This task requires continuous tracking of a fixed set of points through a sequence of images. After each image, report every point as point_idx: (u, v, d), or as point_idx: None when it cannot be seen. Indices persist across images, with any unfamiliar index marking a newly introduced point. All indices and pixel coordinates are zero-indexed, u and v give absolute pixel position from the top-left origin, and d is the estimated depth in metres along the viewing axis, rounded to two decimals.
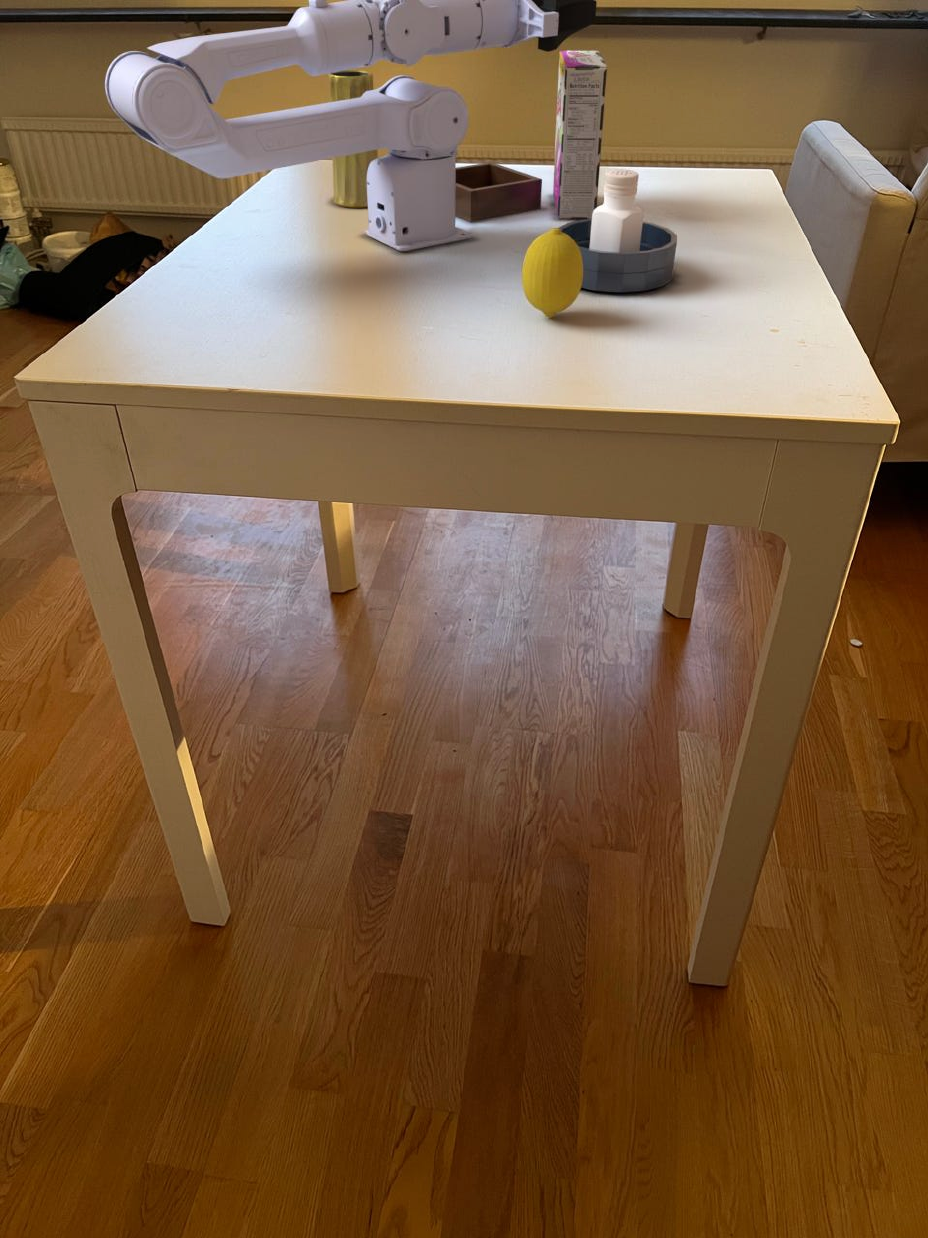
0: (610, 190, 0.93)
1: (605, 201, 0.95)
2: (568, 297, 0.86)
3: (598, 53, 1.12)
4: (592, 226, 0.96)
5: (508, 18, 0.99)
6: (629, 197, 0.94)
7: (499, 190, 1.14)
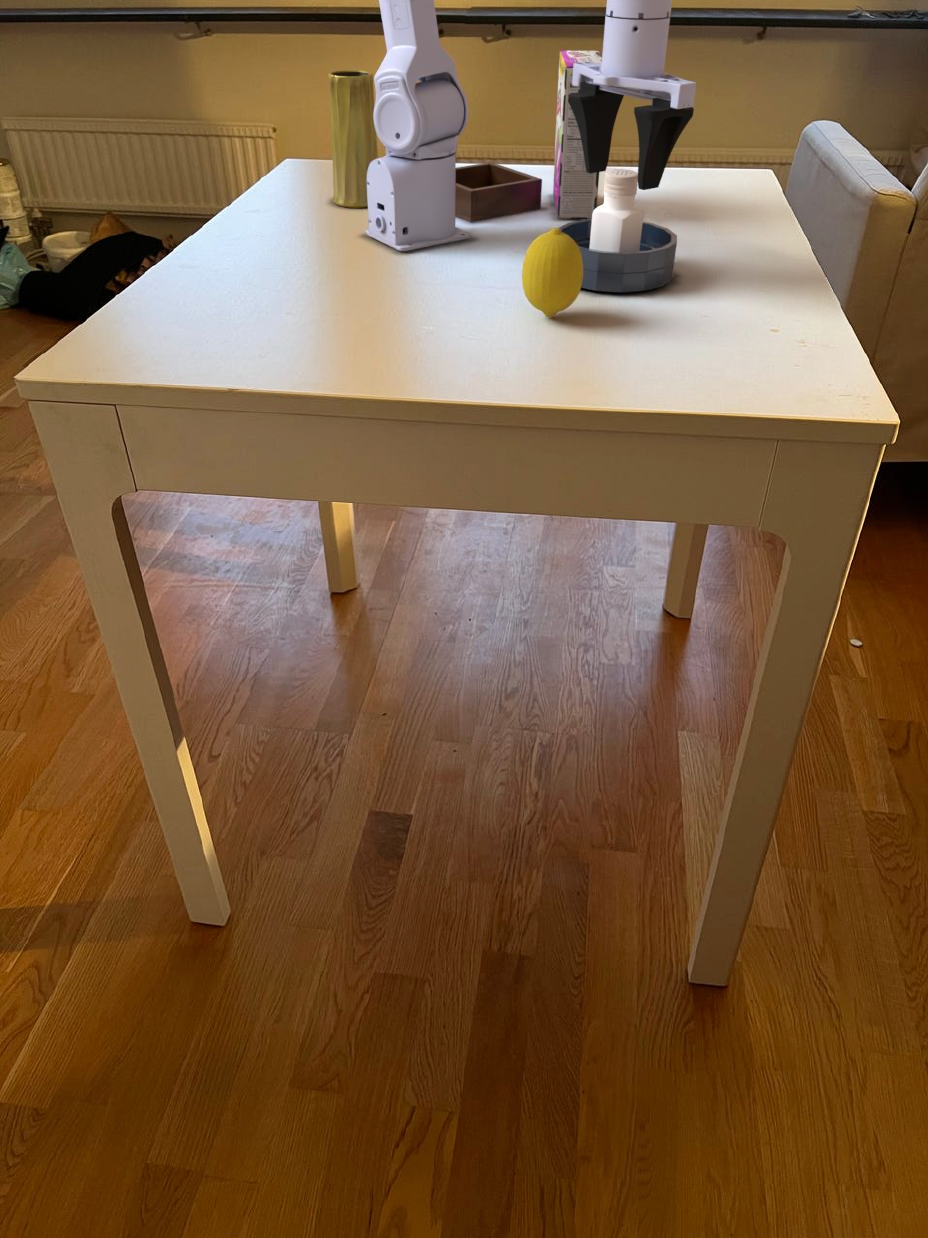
0: (610, 190, 0.93)
1: (605, 201, 0.95)
2: (568, 297, 0.86)
3: (598, 53, 1.12)
4: (592, 226, 0.96)
5: None
6: (629, 197, 0.94)
7: (499, 190, 1.14)
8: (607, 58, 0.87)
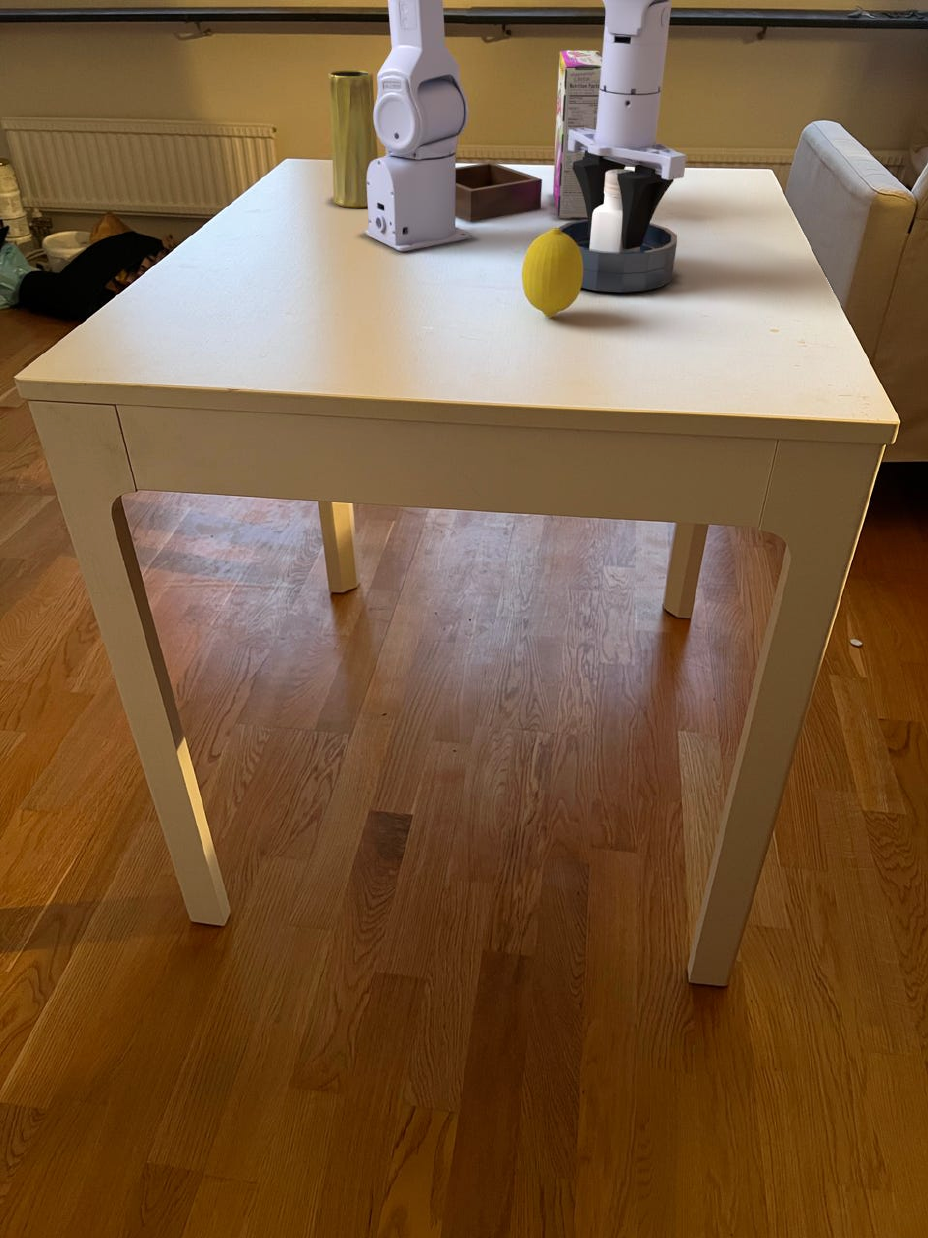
0: (610, 190, 0.93)
1: (605, 201, 0.95)
2: (568, 297, 0.86)
3: (598, 53, 1.12)
4: (593, 226, 0.96)
5: None
6: None
7: (499, 190, 1.14)
8: (601, 129, 0.90)
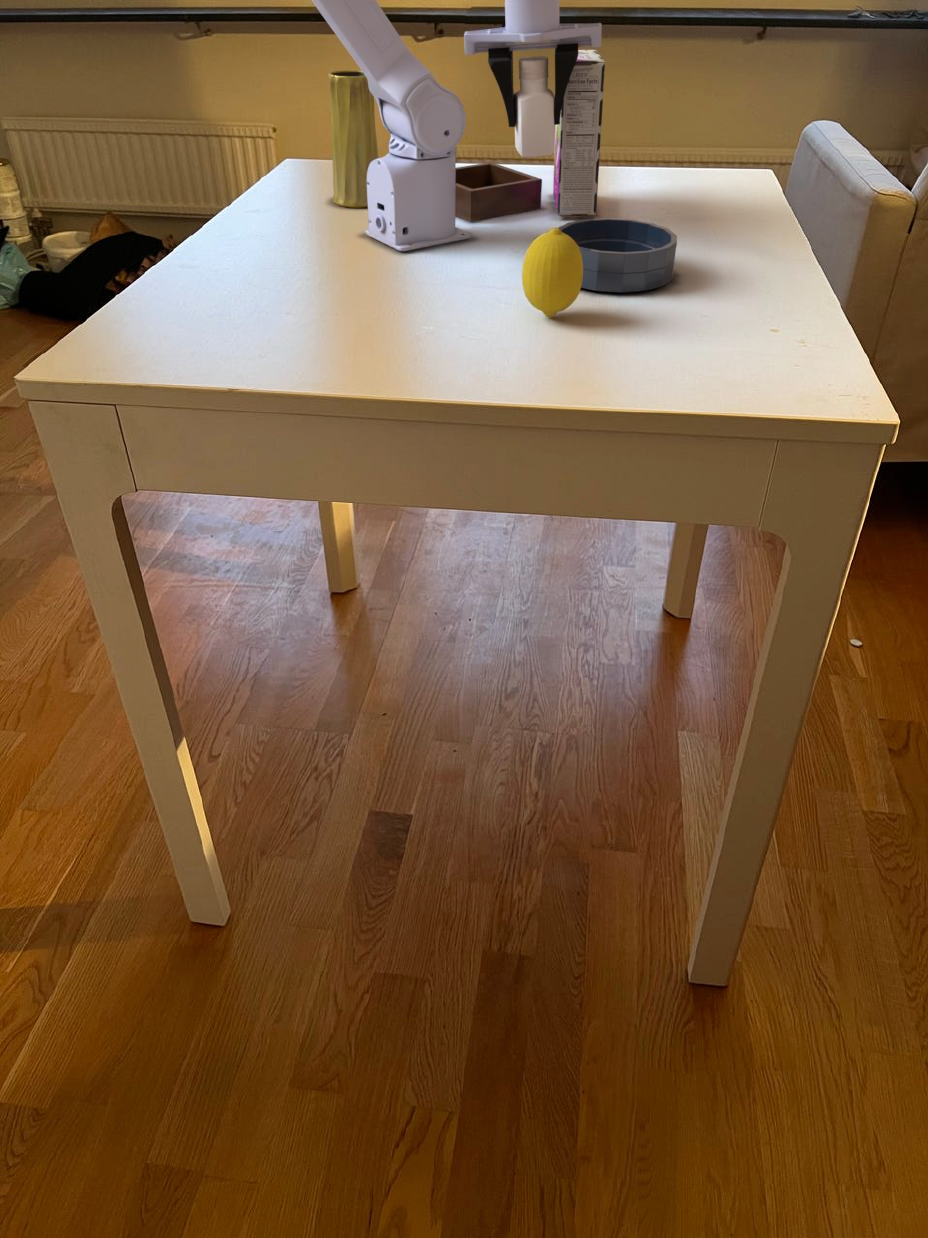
0: (536, 75, 1.03)
1: (529, 87, 1.04)
2: (568, 297, 0.86)
3: (596, 51, 1.13)
4: (523, 114, 1.05)
5: (505, 16, 1.01)
6: (547, 77, 1.05)
7: (499, 190, 1.14)
8: (527, 19, 0.99)
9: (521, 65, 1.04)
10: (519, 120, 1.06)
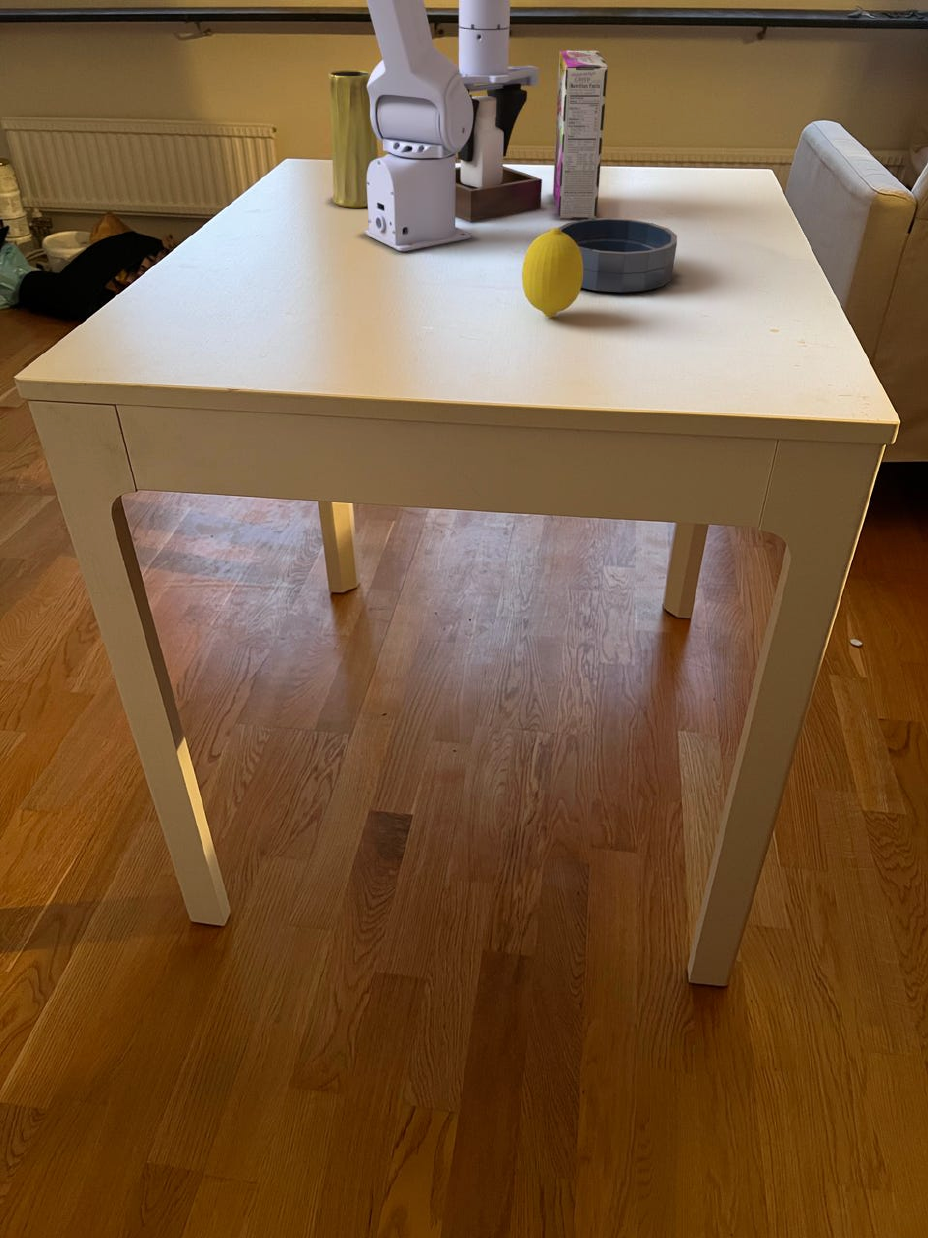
0: (492, 112, 1.13)
1: (486, 124, 1.13)
2: (568, 297, 0.86)
3: (598, 53, 1.12)
4: (485, 148, 1.14)
5: (463, 61, 1.09)
6: None
7: (499, 190, 1.14)
8: (494, 62, 1.08)
9: None
10: (479, 154, 1.14)
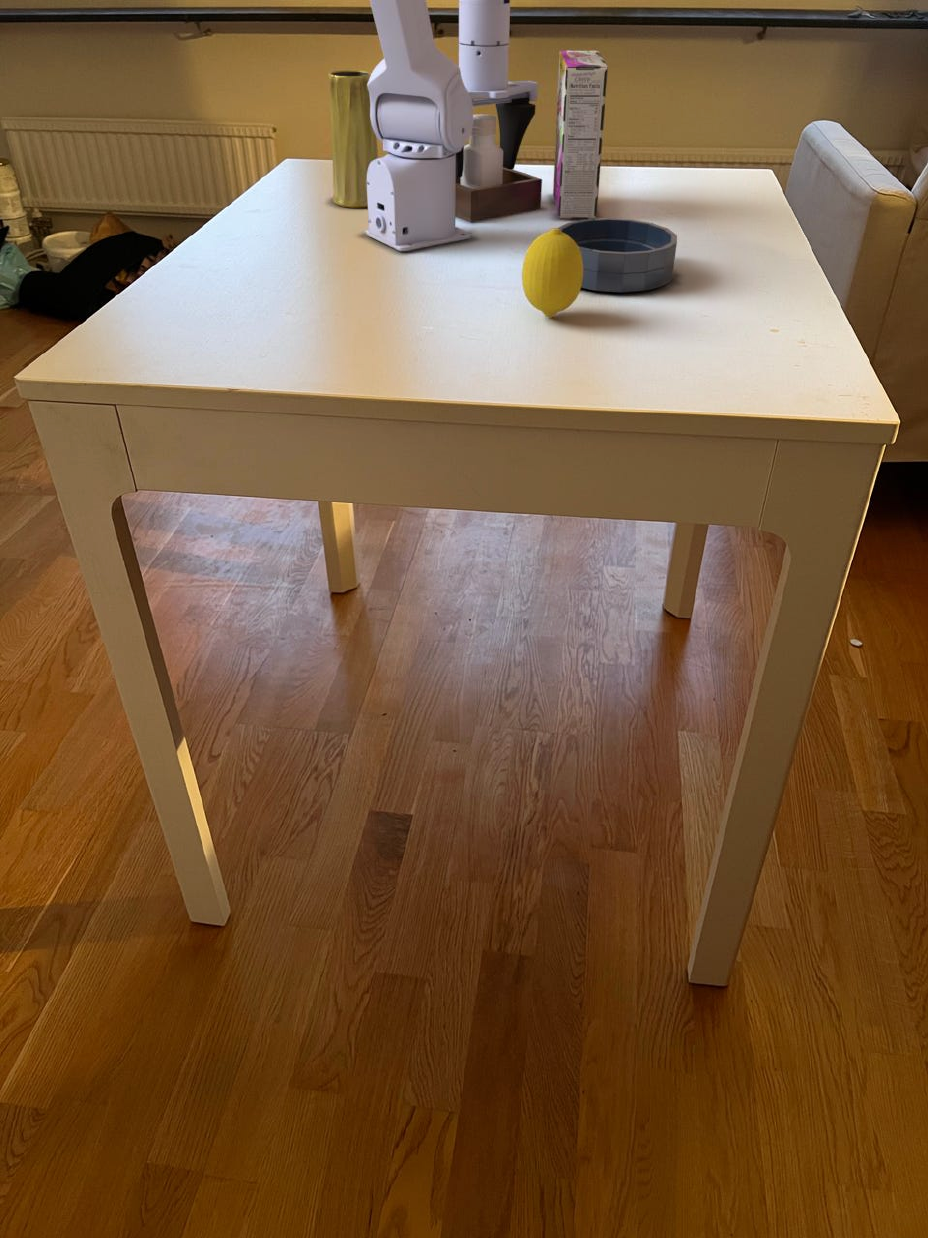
0: (491, 131, 1.14)
1: (485, 142, 1.15)
2: (568, 297, 0.86)
3: (598, 53, 1.12)
4: (484, 166, 1.15)
5: (463, 76, 1.10)
6: None
7: (499, 190, 1.14)
8: (494, 78, 1.09)
9: (477, 123, 1.13)
10: (479, 172, 1.16)
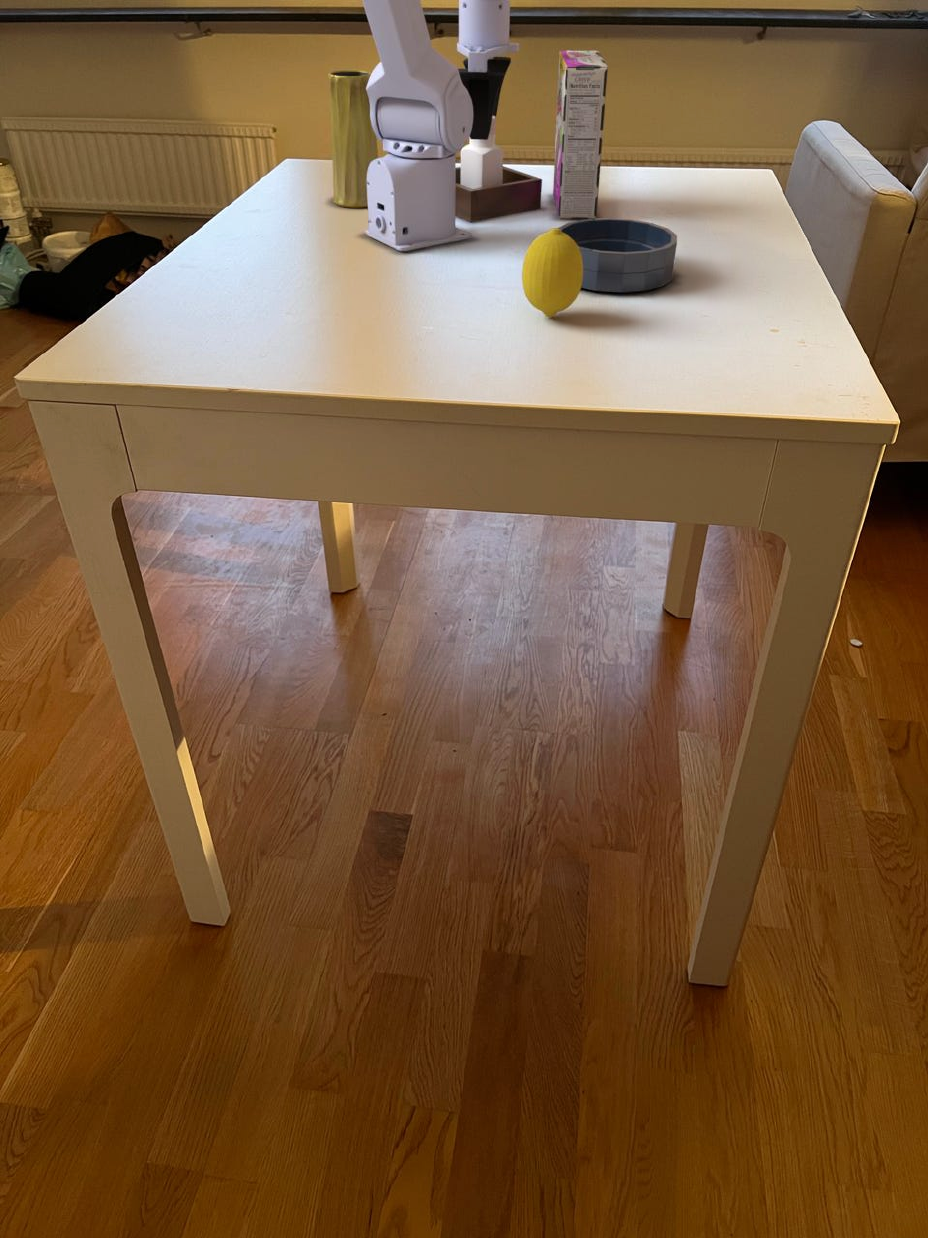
0: (491, 131, 1.14)
1: (485, 142, 1.15)
2: (568, 297, 0.86)
3: (598, 53, 1.12)
4: (484, 166, 1.15)
5: (482, 33, 1.06)
6: None
7: (499, 190, 1.14)
8: (508, 31, 1.08)
9: None
10: (479, 172, 1.16)
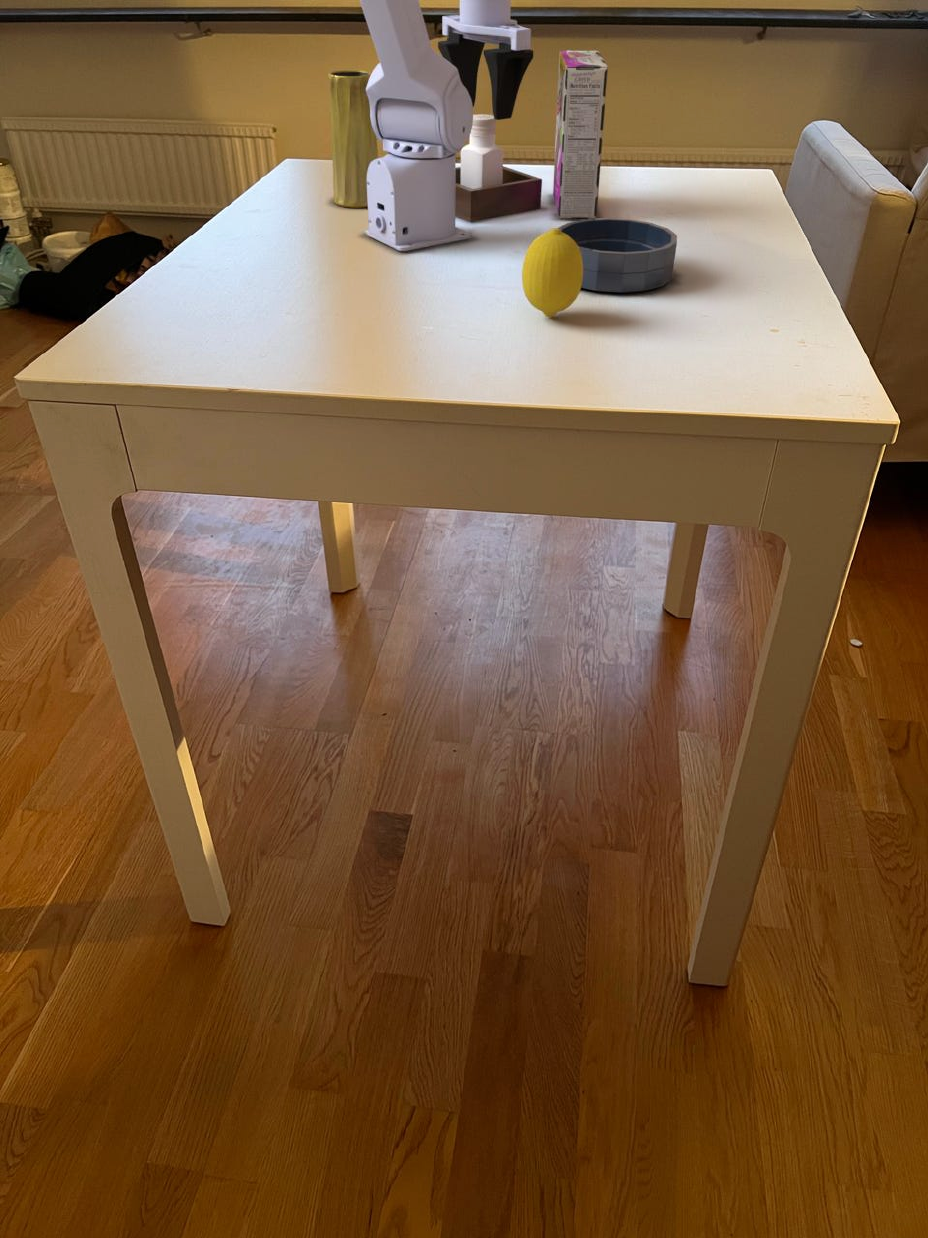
0: (491, 131, 1.14)
1: (485, 142, 1.15)
2: (568, 297, 0.86)
3: (598, 53, 1.12)
4: (484, 166, 1.15)
5: (501, 11, 1.06)
6: None
7: (499, 190, 1.14)
8: None
9: (477, 123, 1.13)
10: (479, 172, 1.16)
